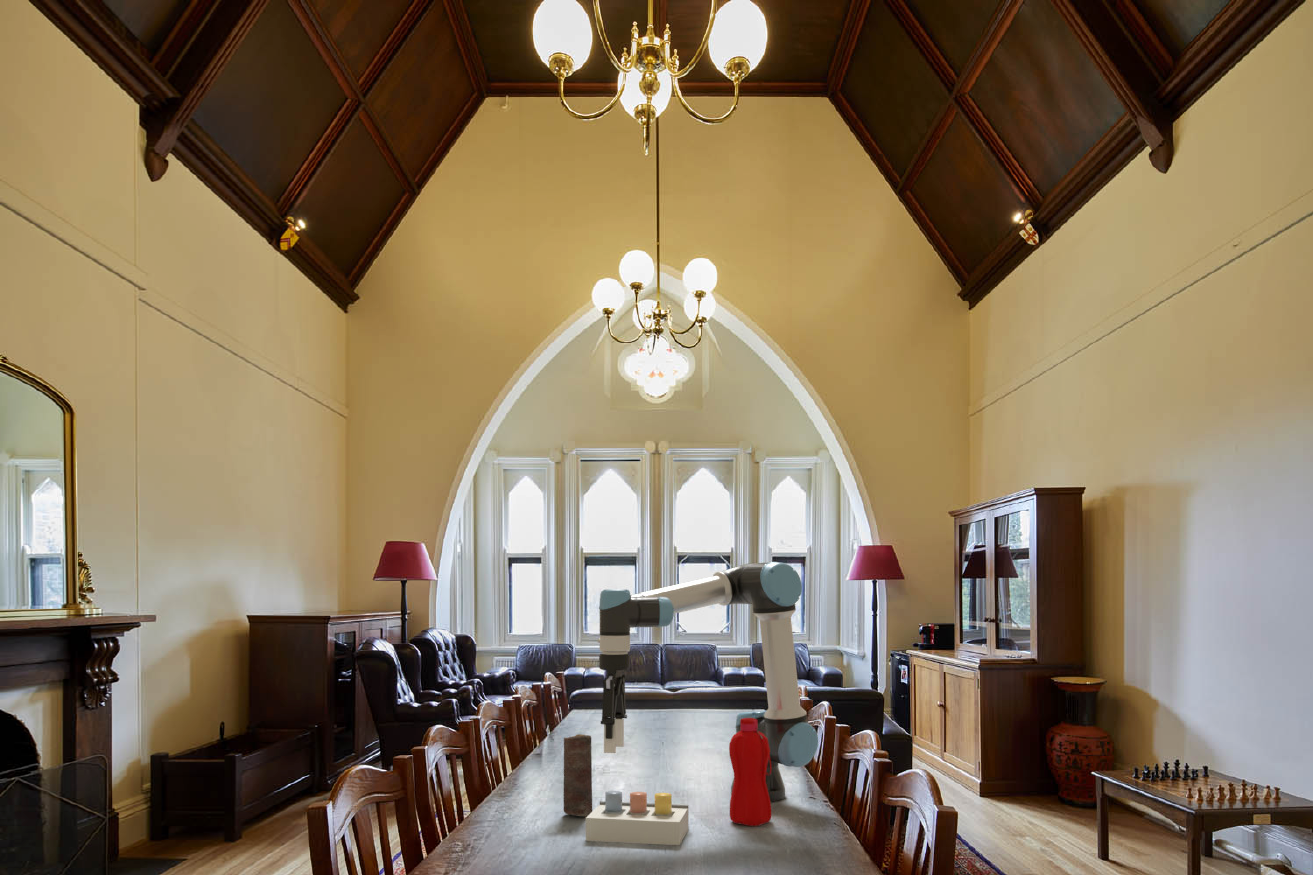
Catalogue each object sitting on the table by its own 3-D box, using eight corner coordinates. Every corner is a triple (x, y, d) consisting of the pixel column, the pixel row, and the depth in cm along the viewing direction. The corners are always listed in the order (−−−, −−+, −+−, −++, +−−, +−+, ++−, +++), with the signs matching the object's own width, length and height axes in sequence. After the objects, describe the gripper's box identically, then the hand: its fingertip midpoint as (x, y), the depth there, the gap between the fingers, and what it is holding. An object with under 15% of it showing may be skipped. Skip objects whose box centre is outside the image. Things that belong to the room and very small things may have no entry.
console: (688, 829, 222) (688, 804, 222) (679, 845, 208) (679, 819, 209) (600, 824, 225) (600, 801, 226) (585, 840, 212) (585, 814, 213)
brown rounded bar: (567, 820, 230) (568, 737, 233) (558, 813, 236) (560, 733, 240) (596, 817, 233) (597, 735, 236) (586, 810, 240) (587, 731, 243)
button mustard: (672, 810, 218) (672, 792, 219) (670, 814, 214) (669, 796, 215) (656, 809, 219) (656, 792, 219) (653, 813, 215) (653, 796, 216)
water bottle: (761, 830, 221) (759, 722, 225) (724, 822, 228) (723, 718, 232) (782, 822, 228) (780, 718, 232) (746, 815, 235) (744, 714, 239)
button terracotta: (648, 809, 219) (648, 791, 220) (644, 813, 215) (644, 795, 216) (631, 808, 220) (631, 791, 220) (628, 812, 216) (628, 795, 217)
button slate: (623, 808, 220) (623, 791, 221) (620, 812, 216) (620, 794, 217) (607, 807, 221) (607, 790, 222) (603, 811, 217) (603, 794, 218)
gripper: (609, 649, 235) (608, 741, 232) (588, 655, 215) (587, 756, 211) (638, 650, 234) (637, 742, 230) (620, 656, 214) (619, 757, 210)
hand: (613, 749), depth 221 cm, fingers open, 8 cm apart
